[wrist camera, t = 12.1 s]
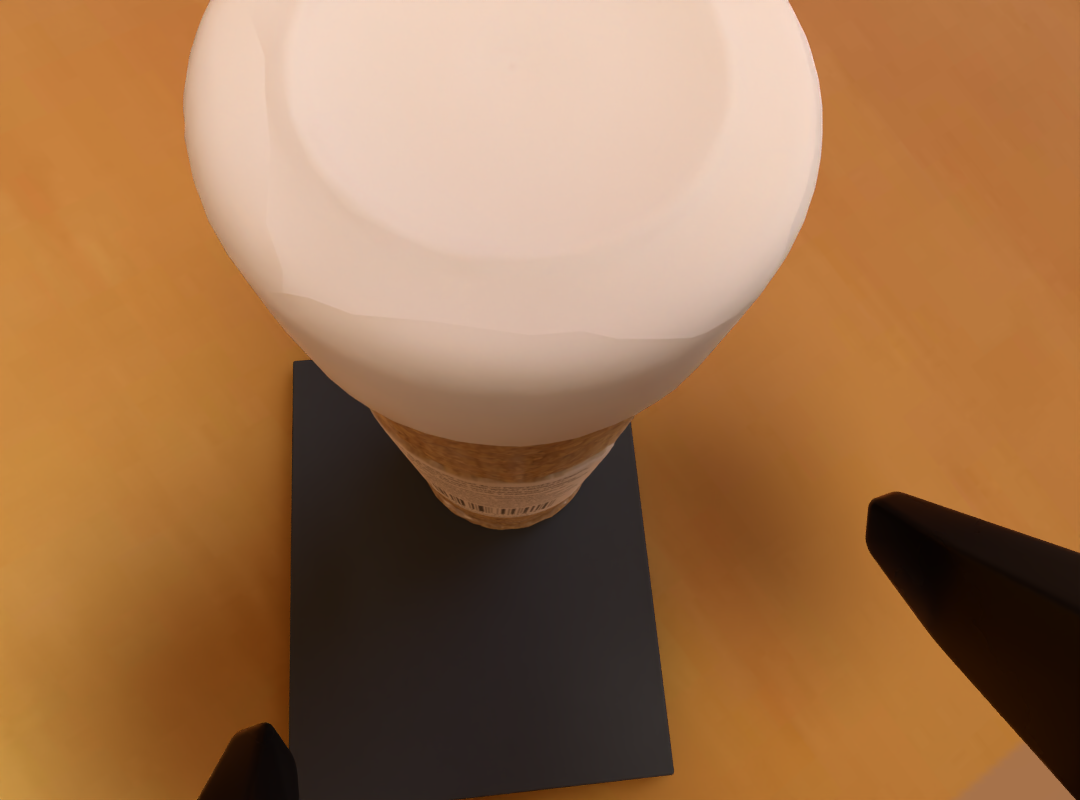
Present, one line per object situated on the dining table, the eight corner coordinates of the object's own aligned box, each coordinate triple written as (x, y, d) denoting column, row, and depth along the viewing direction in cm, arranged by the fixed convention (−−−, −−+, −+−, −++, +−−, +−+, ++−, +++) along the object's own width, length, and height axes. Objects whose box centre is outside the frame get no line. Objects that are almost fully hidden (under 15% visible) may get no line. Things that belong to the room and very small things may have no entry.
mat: (669, 769, 16) (674, 775, 15) (294, 811, 15) (287, 819, 15) (618, 346, 19) (621, 340, 18) (298, 366, 18) (292, 360, 18)
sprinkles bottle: (616, 409, 18) (934, -42, 5) (542, 564, 17) (698, 525, 4) (467, 336, 18) (382, -276, 5) (384, 483, 17) (-5, 178, 4)
